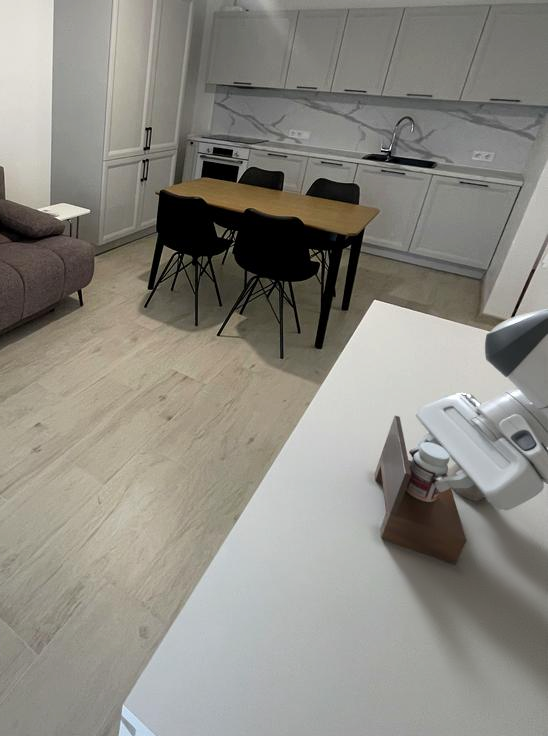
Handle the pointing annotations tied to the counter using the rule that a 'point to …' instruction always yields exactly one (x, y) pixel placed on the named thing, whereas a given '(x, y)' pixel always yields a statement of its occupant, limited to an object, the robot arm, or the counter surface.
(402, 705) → the counter surface
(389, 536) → the wooden display stand
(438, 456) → the pill bottle
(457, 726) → the counter surface
